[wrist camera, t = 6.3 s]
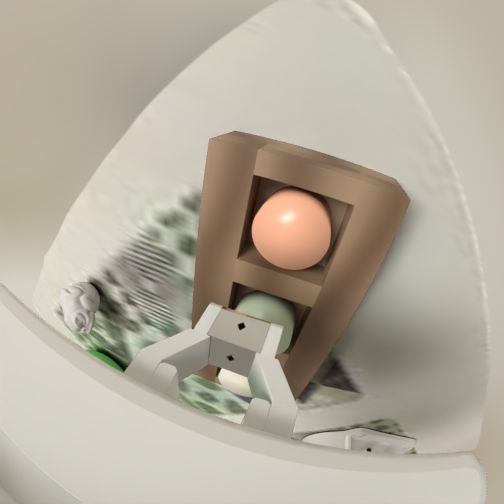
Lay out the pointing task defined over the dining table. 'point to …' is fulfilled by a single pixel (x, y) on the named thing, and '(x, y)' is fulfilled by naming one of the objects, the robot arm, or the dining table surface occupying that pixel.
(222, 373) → the cream button
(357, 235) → the button panel
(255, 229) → the terracotta button
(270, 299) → the sage button
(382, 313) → the dining table surface
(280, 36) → the dining table surface
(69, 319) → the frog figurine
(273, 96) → the dining table surface
